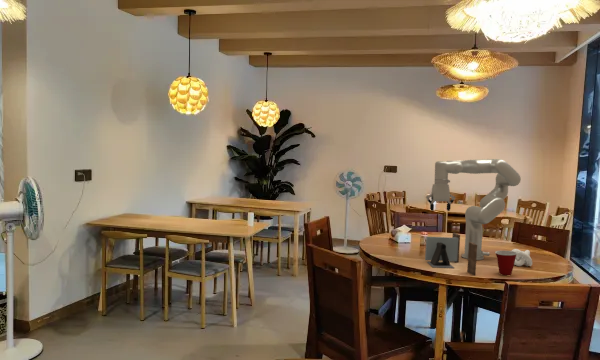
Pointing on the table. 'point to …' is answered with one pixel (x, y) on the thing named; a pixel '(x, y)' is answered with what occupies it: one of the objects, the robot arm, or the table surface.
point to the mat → (439, 266)
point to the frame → (471, 255)
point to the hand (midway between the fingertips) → (440, 210)
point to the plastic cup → (506, 261)
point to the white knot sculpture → (522, 258)
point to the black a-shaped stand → (440, 252)
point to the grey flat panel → (449, 242)
